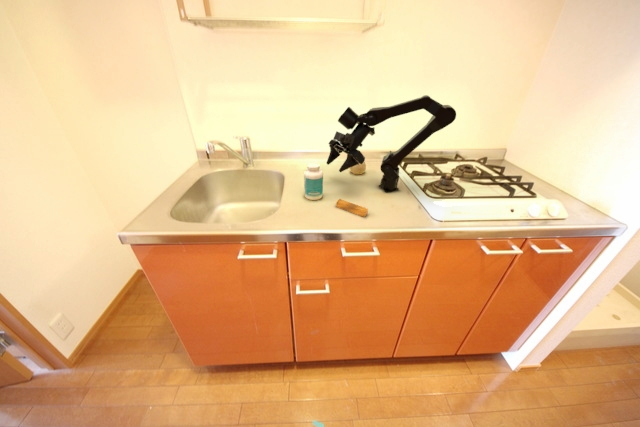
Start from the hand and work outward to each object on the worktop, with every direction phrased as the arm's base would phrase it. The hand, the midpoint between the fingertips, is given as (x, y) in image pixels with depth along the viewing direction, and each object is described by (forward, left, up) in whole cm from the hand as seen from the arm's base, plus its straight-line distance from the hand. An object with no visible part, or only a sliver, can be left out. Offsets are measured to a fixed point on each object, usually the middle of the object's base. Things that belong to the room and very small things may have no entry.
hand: (333, 167), depth 93 cm
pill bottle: (+10, +3, -10) cm, 14 cm away
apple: (-19, -13, -10) cm, 26 cm away
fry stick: (0, +18, -10) cm, 21 cm away
